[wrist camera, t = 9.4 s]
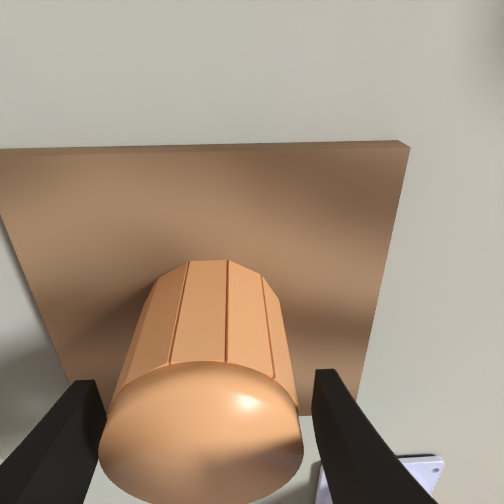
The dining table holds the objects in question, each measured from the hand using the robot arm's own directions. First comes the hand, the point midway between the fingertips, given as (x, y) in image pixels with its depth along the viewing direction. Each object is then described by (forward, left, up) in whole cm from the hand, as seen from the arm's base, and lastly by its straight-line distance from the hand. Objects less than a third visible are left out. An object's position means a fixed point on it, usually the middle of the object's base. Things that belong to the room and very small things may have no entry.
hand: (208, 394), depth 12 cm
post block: (0, 0, -5) cm, 5 cm away
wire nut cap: (0, 0, -4) cm, 4 cm away
